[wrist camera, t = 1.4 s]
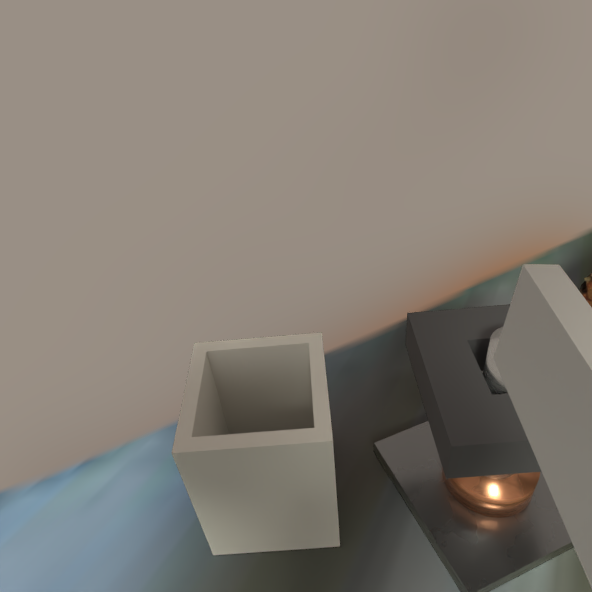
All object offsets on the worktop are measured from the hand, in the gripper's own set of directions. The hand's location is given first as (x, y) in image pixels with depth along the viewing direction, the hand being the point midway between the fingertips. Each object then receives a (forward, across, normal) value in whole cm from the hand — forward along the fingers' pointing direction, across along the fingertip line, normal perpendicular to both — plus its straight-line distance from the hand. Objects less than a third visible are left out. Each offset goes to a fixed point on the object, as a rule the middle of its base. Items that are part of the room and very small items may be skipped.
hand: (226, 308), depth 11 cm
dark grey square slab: (+9, +12, -12) cm, 19 cm away
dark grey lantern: (+9, +13, -20) cm, 26 cm away
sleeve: (+9, 0, -22) cm, 23 cm away
